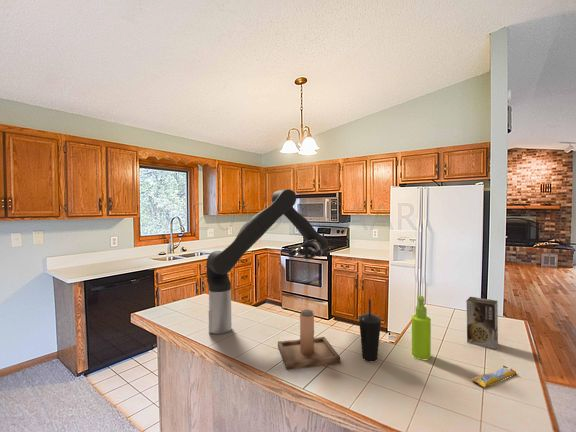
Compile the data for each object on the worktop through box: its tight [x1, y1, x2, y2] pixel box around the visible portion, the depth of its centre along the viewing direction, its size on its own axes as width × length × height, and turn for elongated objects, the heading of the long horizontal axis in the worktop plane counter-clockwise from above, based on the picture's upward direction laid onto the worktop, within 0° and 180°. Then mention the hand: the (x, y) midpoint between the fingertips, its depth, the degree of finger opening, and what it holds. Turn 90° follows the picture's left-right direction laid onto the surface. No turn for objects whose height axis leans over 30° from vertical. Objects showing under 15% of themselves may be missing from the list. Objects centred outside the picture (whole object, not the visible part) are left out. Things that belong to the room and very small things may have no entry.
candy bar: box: [468, 365, 517, 388], centre depth 86 cm, size 17×4×2 cm, turn 114°
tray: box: [277, 336, 341, 371], centre depth 102 cm, size 18×16×2 cm
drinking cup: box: [357, 298, 382, 362], centre depth 99 cm, size 8×8×20 cm
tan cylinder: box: [299, 309, 315, 355], centre depth 102 cm, size 5×5×14 cm
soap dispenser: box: [411, 295, 432, 360], centre depth 100 cm, size 6×7×20 cm
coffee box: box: [465, 296, 499, 350], centre depth 109 cm, size 9×6×16 cm
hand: (301, 254), depth 121 cm, fingers open, 8 cm apart
